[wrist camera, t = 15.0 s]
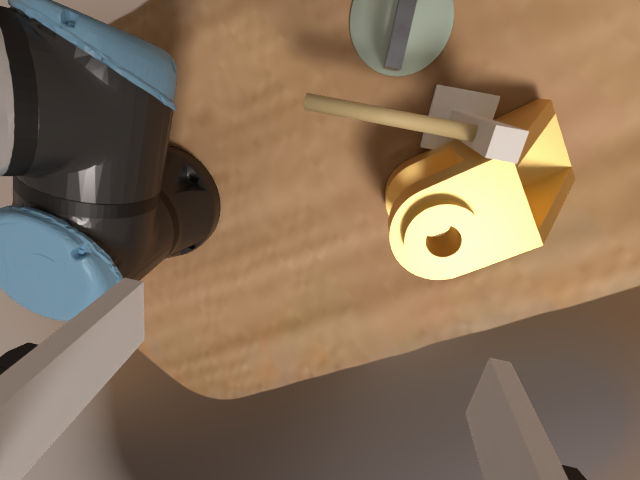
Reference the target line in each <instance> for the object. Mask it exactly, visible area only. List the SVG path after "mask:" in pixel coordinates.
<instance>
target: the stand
mask: <svg viewBox="0 0 640 480" xmlns="http://www.w3.org/2000/svg"><path fill="white" fill-rule="evenodd" d="M500 97H501V96H497V95H492V94H486V93H481V92H476V91H470V90H465V89H459V88H454V87H449V86H443V85H438V84H436V88H435V91H434V95H433V99H432V102H431V106H430V110H429V114H428V116H426V115H421V114H416V113H411V112H405V111H400V110H395V109H389V108H384V107H379V106H374V105H368V104H363V103H358V102H353V101H347V100H342V99H337V98H331V97H326V96H321V95H316V94H310V93H307V94H306V98H305V104H304V109H305V110H309V111H315V112H320V113H325V114H330V115H336V116H341V117H346V118H351V119H356V120H362V121H367V122H372V123H377V124H382V125H388V126H393V127H398V128H403V129H408V130H414V131H419V132H423V136H422V139H421V143H420V147H421V148H427V149H432V150H433V149H435V148H438V147H440V146H442V145H444V144H446V143H448V142H450V141H453V140H455V139H458V140H459V141H461V142H462V143H464V144H465V145H467V146H468V147H470V148H471V149H473V150H474V151H476V152H477V153H479V154H480V155H482V156H483V157H485V158H490V159H495V160H500V161H505V162H510V163H515V164H517V163H518V160H519V158H520V155H521V152H522V150H523V147H524V144H525V142H526V139H527V136H528V134H529V131H527V130H524V129H520V128H517V127H514V126H511V125H508V124H504V123H501V122H498V121H495V120H493V118H494V115H495V112H496V109H497V106H498V103H499V100H500Z"/></svg>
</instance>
